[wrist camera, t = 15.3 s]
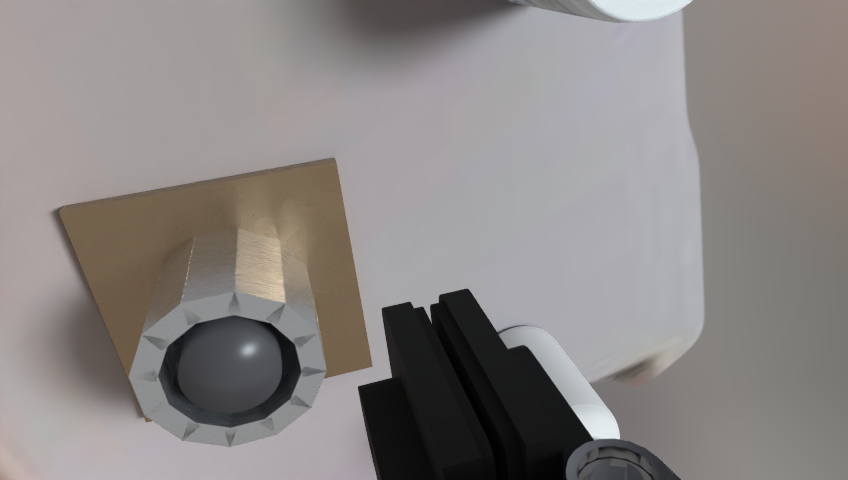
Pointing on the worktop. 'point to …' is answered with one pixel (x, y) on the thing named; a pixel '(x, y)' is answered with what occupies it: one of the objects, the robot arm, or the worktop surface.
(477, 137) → the worktop surface
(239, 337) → the cap
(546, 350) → the pill bottle
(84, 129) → the worktop surface
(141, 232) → the ball socket mount
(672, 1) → the supplement tub
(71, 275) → the worktop surface
